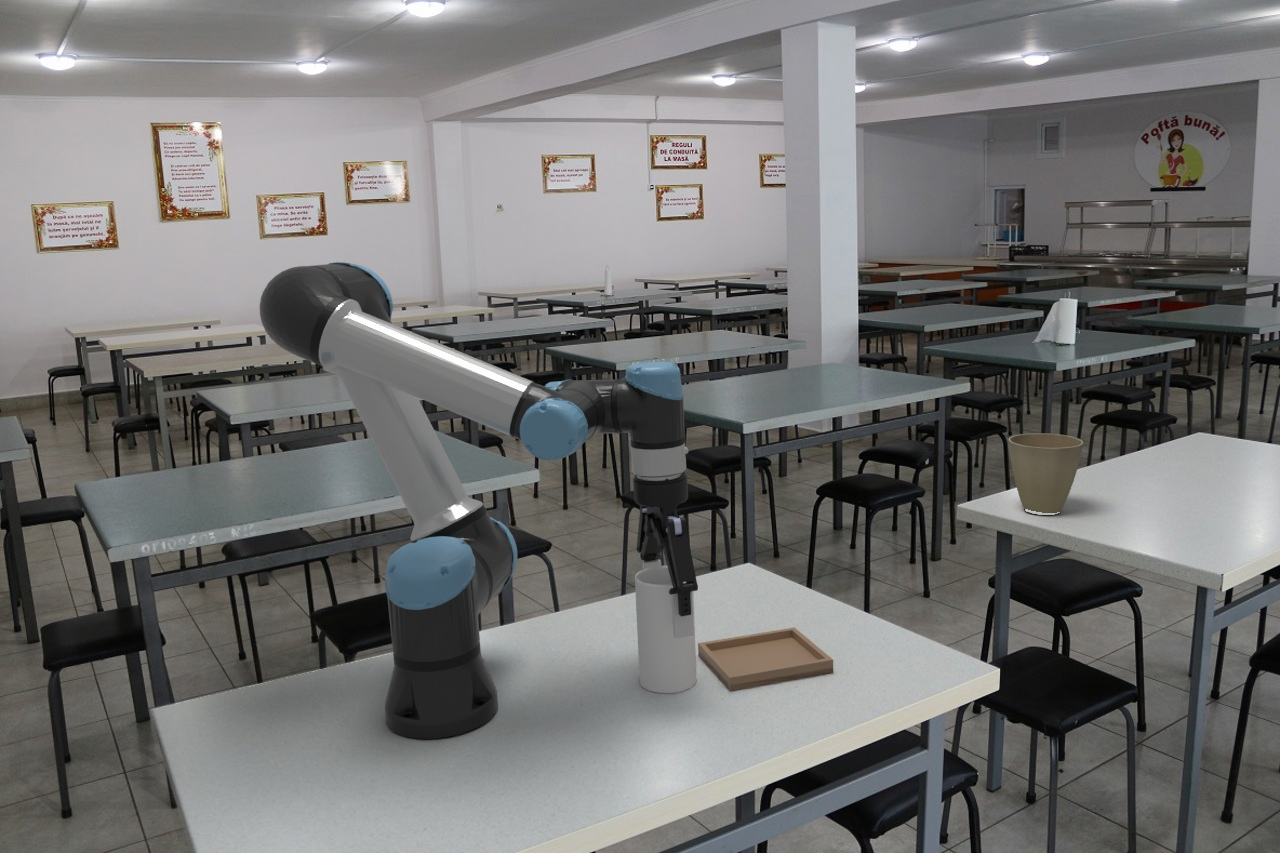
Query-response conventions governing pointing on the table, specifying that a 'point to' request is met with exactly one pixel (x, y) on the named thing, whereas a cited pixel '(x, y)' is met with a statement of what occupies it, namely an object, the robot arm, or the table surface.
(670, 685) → the cup
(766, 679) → the tray
